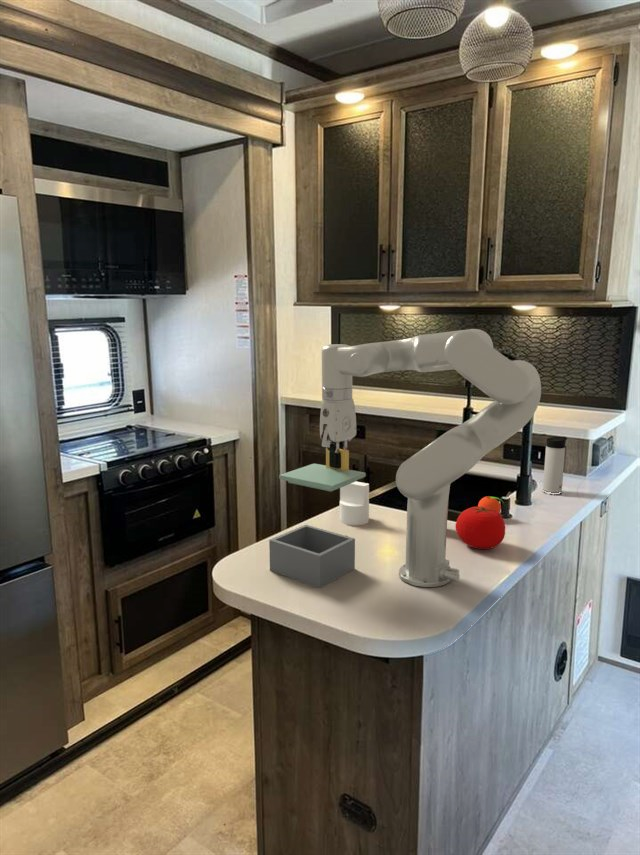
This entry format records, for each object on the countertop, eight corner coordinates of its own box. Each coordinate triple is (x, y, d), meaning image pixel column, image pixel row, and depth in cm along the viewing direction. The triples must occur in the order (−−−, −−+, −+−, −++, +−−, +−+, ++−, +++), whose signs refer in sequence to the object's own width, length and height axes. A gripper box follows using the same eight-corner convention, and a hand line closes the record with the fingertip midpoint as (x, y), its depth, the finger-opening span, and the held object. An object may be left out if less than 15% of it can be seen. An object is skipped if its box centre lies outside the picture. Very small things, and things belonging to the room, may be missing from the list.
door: (365, 480, 153) (365, 452, 152) (332, 494, 142) (332, 464, 141) (314, 470, 162) (313, 444, 161) (279, 483, 152) (278, 455, 150)
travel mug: (565, 495, 215) (569, 439, 211) (546, 495, 215) (550, 439, 212) (558, 490, 221) (563, 435, 218) (540, 489, 222) (544, 435, 218)
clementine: (502, 515, 195) (503, 493, 194) (505, 522, 188) (506, 500, 187) (476, 513, 196) (477, 492, 195) (478, 521, 190) (479, 499, 188)
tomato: (497, 558, 162) (499, 518, 160) (449, 547, 169) (451, 509, 167) (510, 543, 172) (512, 505, 170) (464, 534, 179) (466, 497, 177)
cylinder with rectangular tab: (333, 521, 189) (334, 483, 187) (349, 513, 197) (349, 477, 194) (359, 527, 184) (359, 488, 182) (374, 518, 192) (374, 481, 189)
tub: (354, 568, 155) (355, 538, 154) (319, 588, 145) (319, 556, 143) (305, 553, 165) (305, 524, 164) (269, 570, 155) (269, 539, 153)
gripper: (331, 399, 145) (331, 475, 148) (367, 392, 157) (366, 462, 161) (305, 397, 149) (306, 471, 153) (342, 390, 162) (343, 458, 165)
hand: (337, 466), depth 157 cm, fingers closed on door, 1 cm apart
